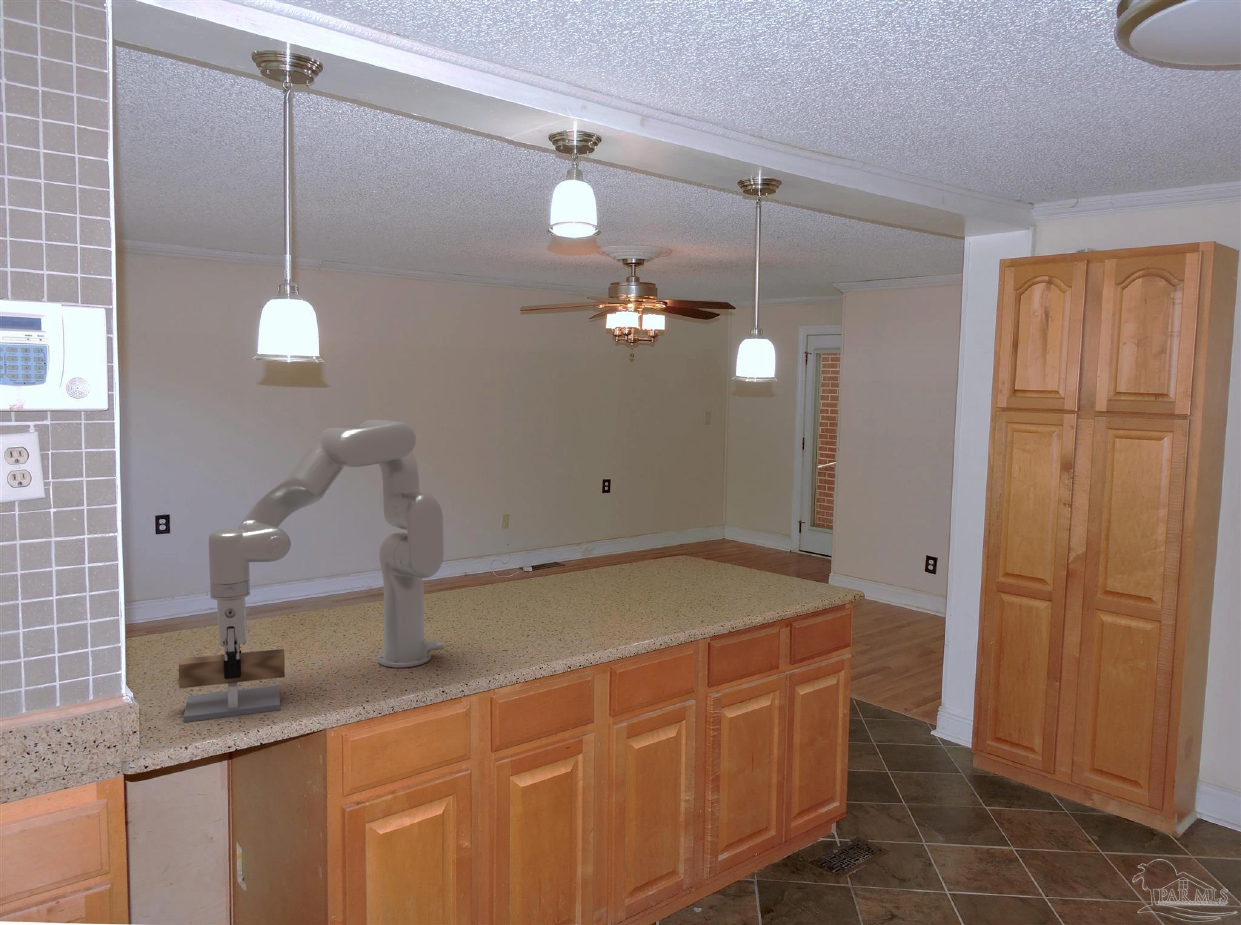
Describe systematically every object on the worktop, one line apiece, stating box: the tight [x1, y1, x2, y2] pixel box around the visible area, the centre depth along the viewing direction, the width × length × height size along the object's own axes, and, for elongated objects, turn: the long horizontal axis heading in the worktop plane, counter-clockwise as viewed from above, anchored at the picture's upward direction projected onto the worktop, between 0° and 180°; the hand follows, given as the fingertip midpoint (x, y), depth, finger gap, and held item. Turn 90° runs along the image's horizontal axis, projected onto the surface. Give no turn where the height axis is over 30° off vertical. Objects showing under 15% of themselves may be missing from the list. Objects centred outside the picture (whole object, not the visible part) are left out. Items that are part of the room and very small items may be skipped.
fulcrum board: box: [183, 682, 281, 723], centre depth 178 cm, size 18×12×6 cm, turn 113°
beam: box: [178, 648, 286, 689], centre depth 178 cm, size 20×4×5 cm, turn 113°
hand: (233, 672), depth 178 cm, fingers open, 4 cm apart
